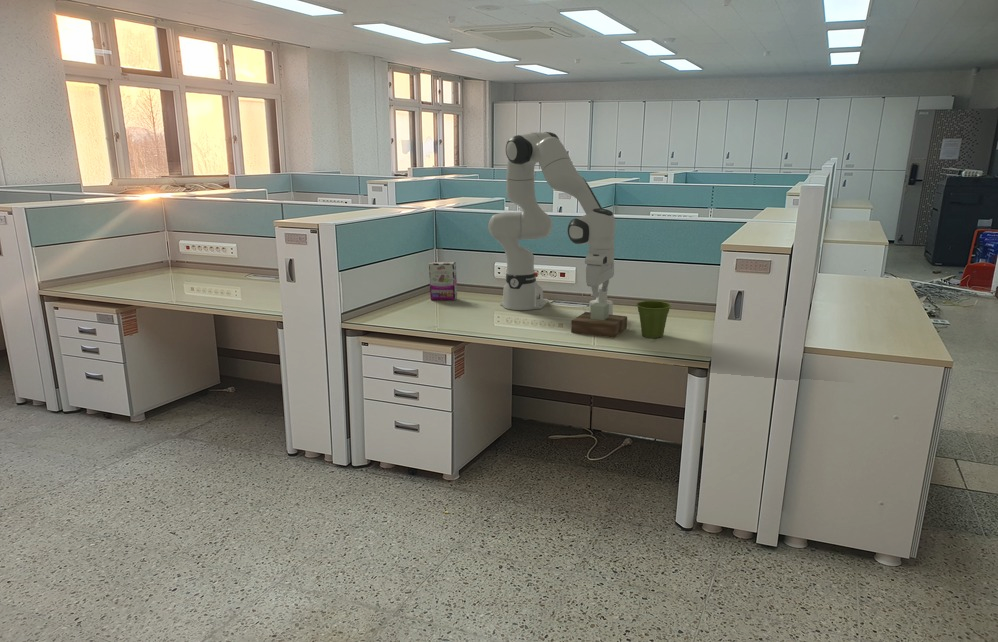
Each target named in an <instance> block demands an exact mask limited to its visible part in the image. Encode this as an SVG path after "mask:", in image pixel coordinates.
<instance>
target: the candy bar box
mask: <svg viewBox="0 0 998 642" xmlns="http://www.w3.org/2000/svg"><path fill="white" fill-rule="evenodd" d="M428 271H429V292H430V300H431V301H456V300H458V288H457V287H458V286H457V285H458V284H457V283H458V278H457V262H456V261H431V262H429V263H428Z"/></svg>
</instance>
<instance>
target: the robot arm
mask: <svg viewBox="0 0 998 642" xmlns="http://www.w3.org/2000/svg"><path fill="white" fill-rule="evenodd" d="M505 155H506V158H507V164H506V172H505V173H506V178H505V179H506V180H505V181H506V184H505V185H506V186H505V187H506V189H505V190H506V197H507V200H508V201H509V202H510V203H513V204H515V205H516V206H518V207H520V208H521V209H522V210H521V211H519V212H514V211H513V212H511V211H510V212H500V213H495V214H493V215H492V216H491V217H490V219H489V221H488V225H487V228H488V232H489V234H490V235H491V237H492V238H493V239H495V240H496V241H497V242H498V243H499V244H500V245H501V247H502V248H503V250H504V254H505V258H506V259H505V260H506V273H505V282H506V283H505V284H504V285H503V291H502V292H503V293H502V301H500V302H499V304H500V306H502V307H503V308H505V309H507V310H514V311H528V310H530V311H531V310H541V309H543V308H544V307H545V306H546V305H547V304H548V303H549V299H548V298H544V291H543V289H544V288H542V286H540V285H539V284H538V282H537V278H538V276H539V273H538V272H537V271H536V272H535V267H534V266H535V256H534V253H533V252H532V251H531V250H530V249H528V248H526V247H523V246H522V245H521V244H520V243H519V241H520V240H540V239H544V238H547V237H549V235H550V234H551V232H552V231H553V221H552V219H551V217H550V215H549V214H548V213H547V212H545V211H544V210H543V209H542V208H541V206H540V205H539V203H538V202H537V201H538V200H537V198H536V191H535V190H536V189H535V166H536V164H537V163H538V164H539V166H540V169H541V172H542V175H543V177H544V179H545V181H546V183H547V184H548V185H549V186H550V188H552V189H553V190H555V191H558V192H561V193H564V194H568V195H570V196H572V197H573V198H574V199H576V200H577V202H579V205H580V206H581V208H582V210H583V211H584V213H585V214H584V215H581V216H578V217H575V218H573V219H571V220H570V222H569V223H568V225H567V235H568V239H570V241H571V242H572V243H573V244H575V245H585V244H588V253H587V255H586V257H584V258H585V259H584V264H585V265H586V266H585V282H586V286H587V287H591V291H592V297H593V298H595V299H596V298H597V297H599V292H598V288H599V285H603V286H602V292H607V293H608V287H609V284H610V279H612V278H613V277H614V276H615V243H614V241H615V236H616V222H615V221H616V219H615V216H614V213H613V212H612V210H609V209H606V208H603V207H602V206H601V204H600V202H599V200H598V199H597V196H596V195H595V193H594V192H593V189H592V188H591V187H590V185H589V184H588V182H587V180H586V179H585V178H584V177H582V175H581V174H580V173H579V172H578V170H577V169H576V168H575V165H574V164H573V162H572V160H571V157H570V156H569V153H568V151H567V149H566V148H565V146H564V144H563V143H562V142H561V140H560V138H559V137H558V135H557V134H555V133H554V132H551V131H545V132H539V131H538V132H537V131H536V132H530V133H525V134H521V135H520V134H518V135H514V136H512V137H510V138H509V139H508V140H507V142H506V144H505Z"/></svg>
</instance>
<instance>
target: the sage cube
mask: <svg viewBox="0 0 998 642" xmlns="http://www.w3.org/2000/svg"><path fill="white" fill-rule="evenodd" d="M608 317H609V304H606V303H597V302H596V303H594V304H592V305H591V316H590V319H596V320H605V319H607V318H608Z"/></svg>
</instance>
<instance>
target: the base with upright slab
mask: <svg viewBox="0 0 998 642" xmlns="http://www.w3.org/2000/svg"><path fill="white" fill-rule="evenodd" d="M602 286H603V284H600V285H599V288H598V292H599V297H597V298H595V299H593V300H590V301H589V303H588V304H589V305H588V306H589V307H588V309H589V311H588V312H591V305H592V304H594V303H596V302H597V303H606V304H609V315H614V314H613V313H614V312H613V311H614V310H613V309H614V301H612V300H609V299H608V291H607V292H602Z"/></svg>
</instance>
